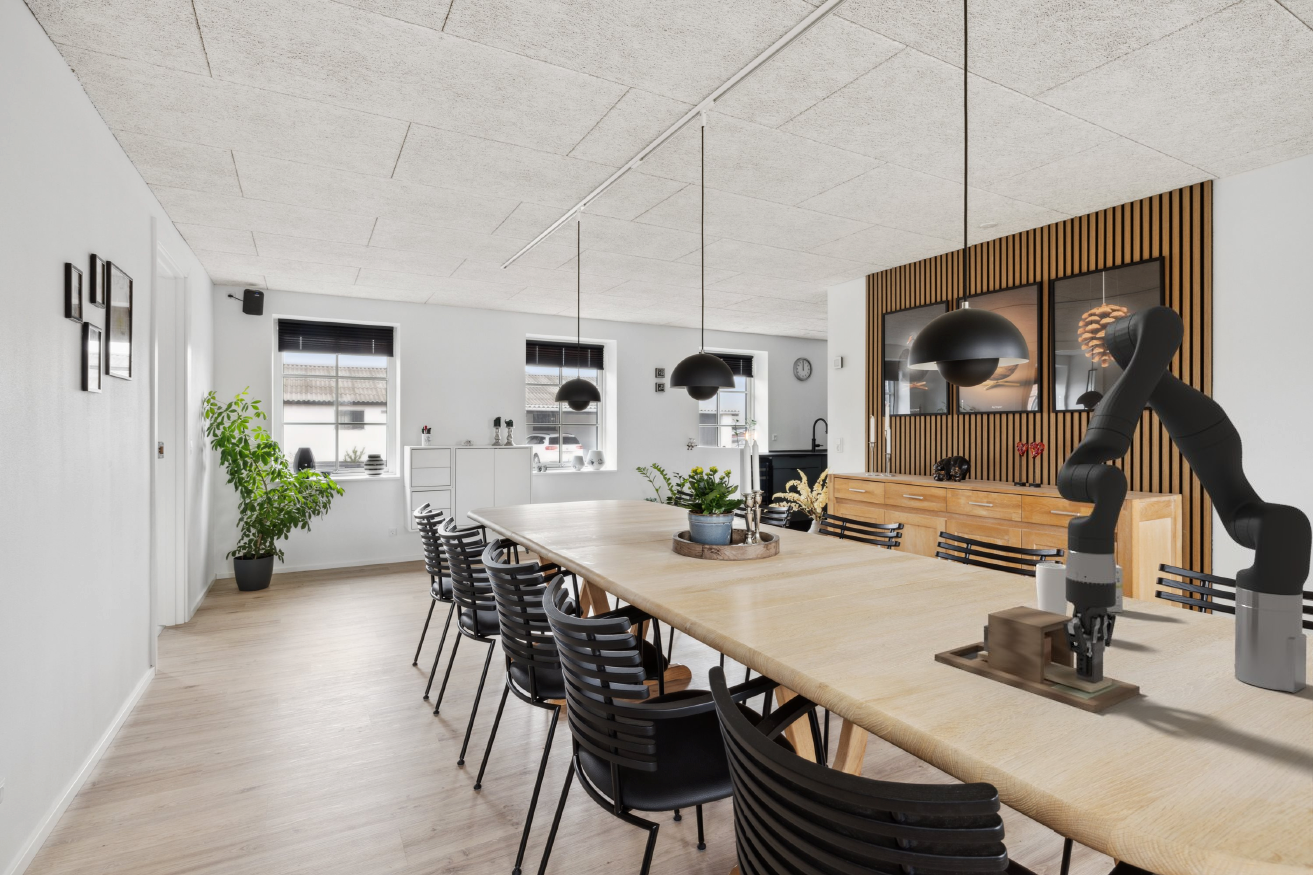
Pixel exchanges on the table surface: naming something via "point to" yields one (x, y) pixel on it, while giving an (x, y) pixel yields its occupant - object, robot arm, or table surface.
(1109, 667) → the table surface
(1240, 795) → the table surface
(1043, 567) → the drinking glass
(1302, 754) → the table surface
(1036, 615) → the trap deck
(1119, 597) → the ink box
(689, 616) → the table surface
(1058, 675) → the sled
